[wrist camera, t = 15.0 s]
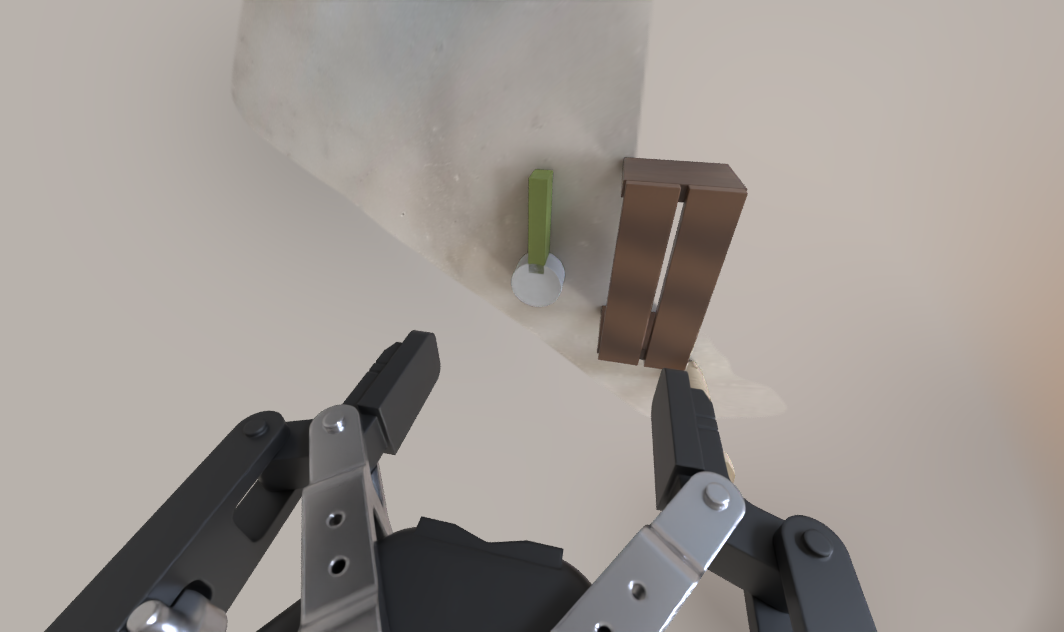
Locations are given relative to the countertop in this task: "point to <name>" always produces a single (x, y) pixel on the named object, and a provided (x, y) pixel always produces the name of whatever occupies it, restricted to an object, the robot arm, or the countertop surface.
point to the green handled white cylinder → (539, 248)
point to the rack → (691, 265)
